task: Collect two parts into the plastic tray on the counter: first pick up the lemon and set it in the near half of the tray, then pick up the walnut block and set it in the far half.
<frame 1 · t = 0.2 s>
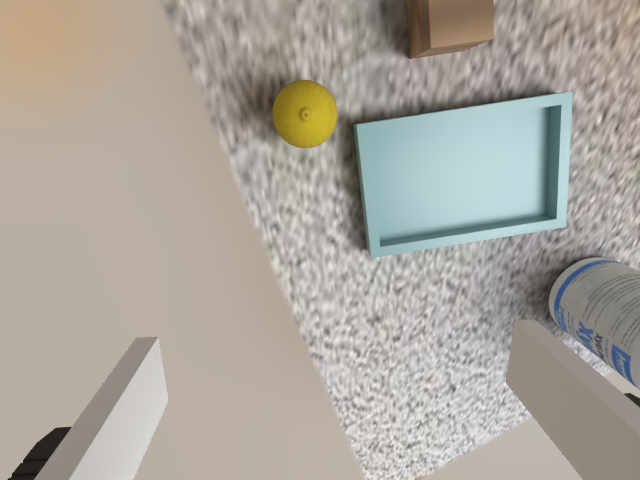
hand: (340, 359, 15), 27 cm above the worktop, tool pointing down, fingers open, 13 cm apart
lemon: (303, 115, 38), on the worktop
walnut block: (434, 25, 36), on the worktop
supplement tub: (584, 292, 45), on the worktop
tray: (456, 175, 40), on the worktop
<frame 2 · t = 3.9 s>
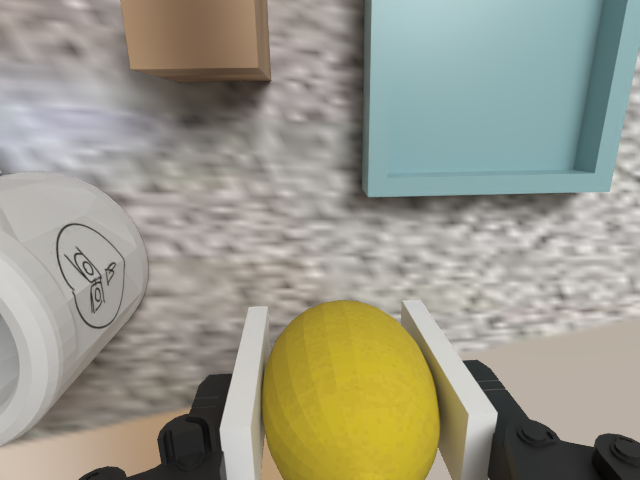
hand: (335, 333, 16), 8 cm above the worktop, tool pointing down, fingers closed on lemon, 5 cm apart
lemon: (335, 326, 17), point 8 cm above the worktop, touching gripper
mug: (54, 236, 24), on the worktop
walnut block: (220, 30, 20), on the worktop
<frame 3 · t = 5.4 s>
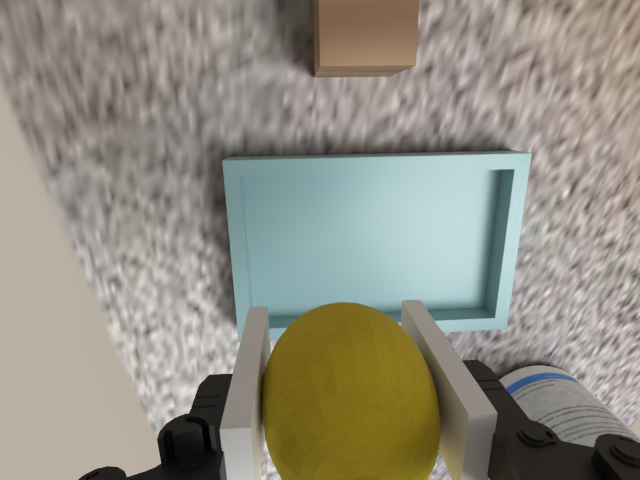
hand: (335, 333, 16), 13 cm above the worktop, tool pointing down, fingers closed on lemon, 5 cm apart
lemon: (335, 328, 17), point 13 cm above the worktop, touching gripper
walnut block: (352, 34, 25), on the worktop
supplement tub: (526, 404, 35), on the worktop
tray: (370, 241, 29), on the worktop
when the fingers open (2 cm above the worktop, at t = 7.2 s): lemon drops 1 cm, resting on tray.
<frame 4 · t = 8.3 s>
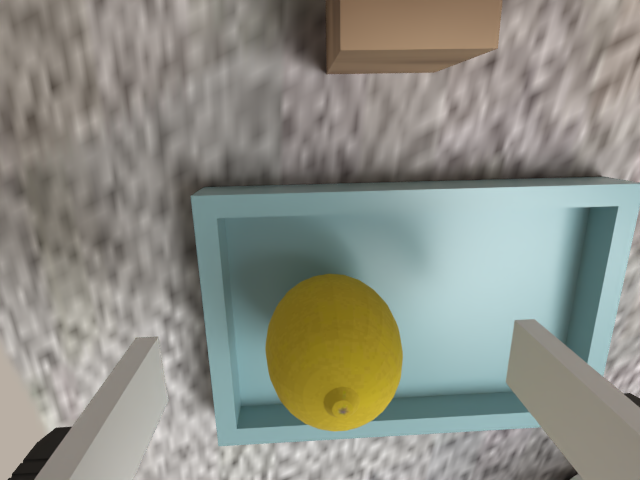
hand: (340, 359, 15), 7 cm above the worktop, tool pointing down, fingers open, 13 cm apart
lemon: (326, 301, 20), point 1 cm above the worktop, touching tray
walnut block: (382, 12, 17), on the worktop
tray: (403, 301, 21), on the worktop
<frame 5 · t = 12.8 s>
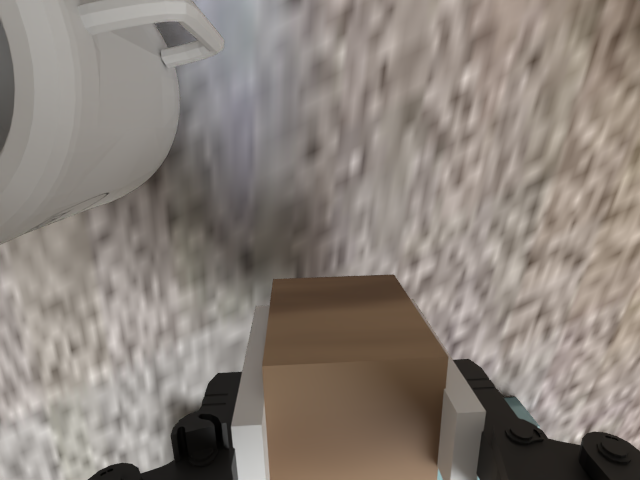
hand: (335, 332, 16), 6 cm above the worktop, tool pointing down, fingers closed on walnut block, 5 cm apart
mug: (98, 86, 19), on the worktop
walnut block: (334, 330, 17), point 5 cm above the worktop, touching gripper
when the fingers open (2 cm above the worktop, at t = 16.4 s): walnut block stays where it is, resting on tray.
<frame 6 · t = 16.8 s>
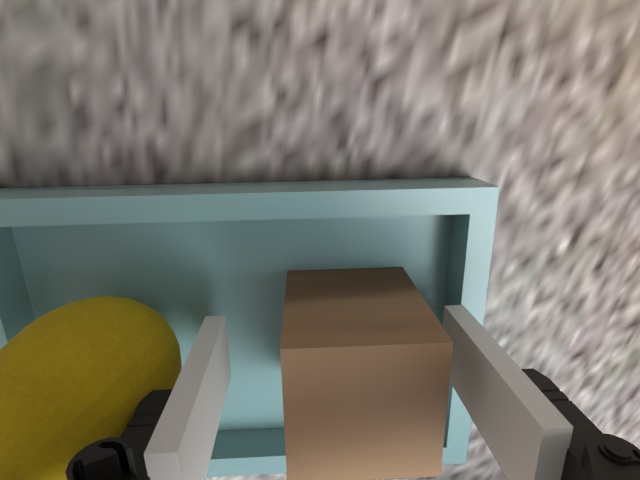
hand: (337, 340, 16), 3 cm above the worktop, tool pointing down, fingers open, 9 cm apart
lemon: (149, 322, 17), point 1 cm above the worktop, touching gripper, tray
walnut block: (345, 320, 18), point 1 cm above the worktop, touching tray
tray: (247, 320, 18), on the worktop
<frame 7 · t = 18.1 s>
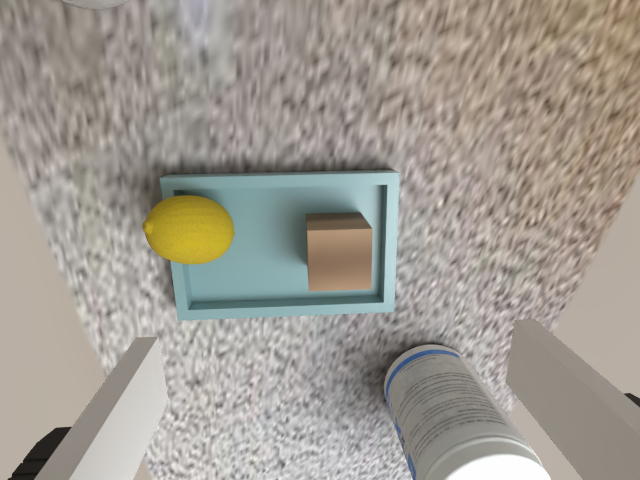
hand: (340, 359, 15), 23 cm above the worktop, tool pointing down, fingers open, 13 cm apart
lemon: (235, 233, 35), point 2 cm above the worktop, touching tray
walnut block: (333, 239, 36), point 1 cm above the worktop, touching tray
supplement tub: (426, 378, 42), on the worktop
tray: (285, 241, 37), on the worktop
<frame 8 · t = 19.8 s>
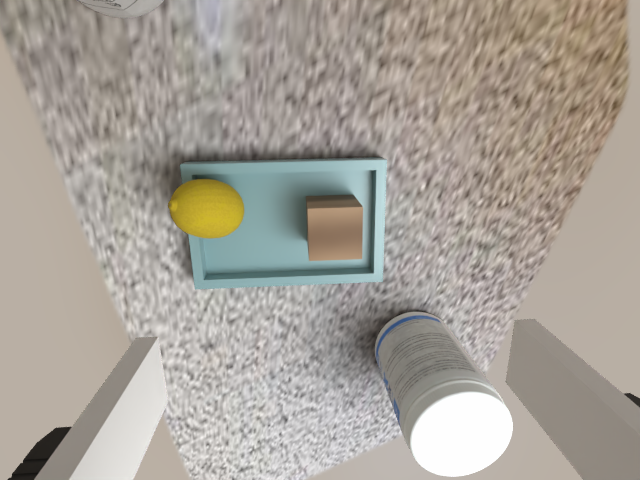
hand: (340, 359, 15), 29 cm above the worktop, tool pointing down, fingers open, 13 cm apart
lemon: (244, 212, 40), point 2 cm above the worktop, touching tray
walnut block: (330, 218, 42), point 1 cm above the worktop, touching tray
supplement tub: (411, 342, 48), on the worktop
tray: (287, 220, 42), on the worktop
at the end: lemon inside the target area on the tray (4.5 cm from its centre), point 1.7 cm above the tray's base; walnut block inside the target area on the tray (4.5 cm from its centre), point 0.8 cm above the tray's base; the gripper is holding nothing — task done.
